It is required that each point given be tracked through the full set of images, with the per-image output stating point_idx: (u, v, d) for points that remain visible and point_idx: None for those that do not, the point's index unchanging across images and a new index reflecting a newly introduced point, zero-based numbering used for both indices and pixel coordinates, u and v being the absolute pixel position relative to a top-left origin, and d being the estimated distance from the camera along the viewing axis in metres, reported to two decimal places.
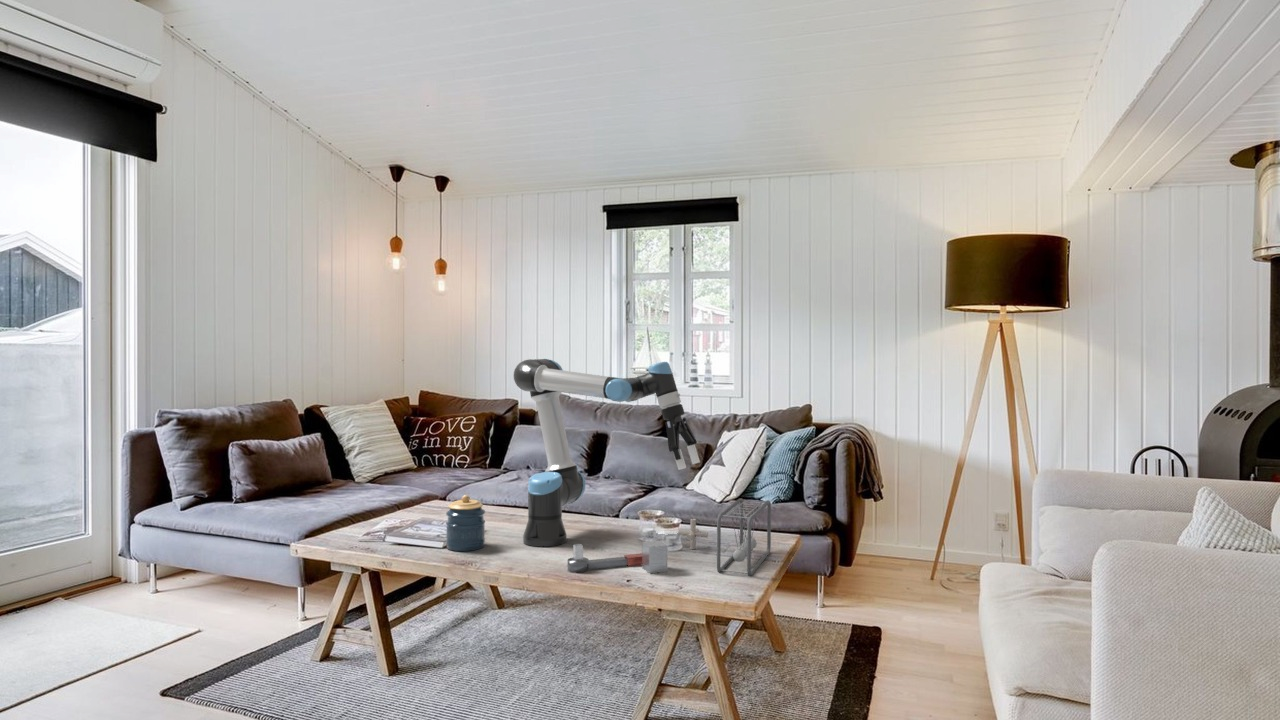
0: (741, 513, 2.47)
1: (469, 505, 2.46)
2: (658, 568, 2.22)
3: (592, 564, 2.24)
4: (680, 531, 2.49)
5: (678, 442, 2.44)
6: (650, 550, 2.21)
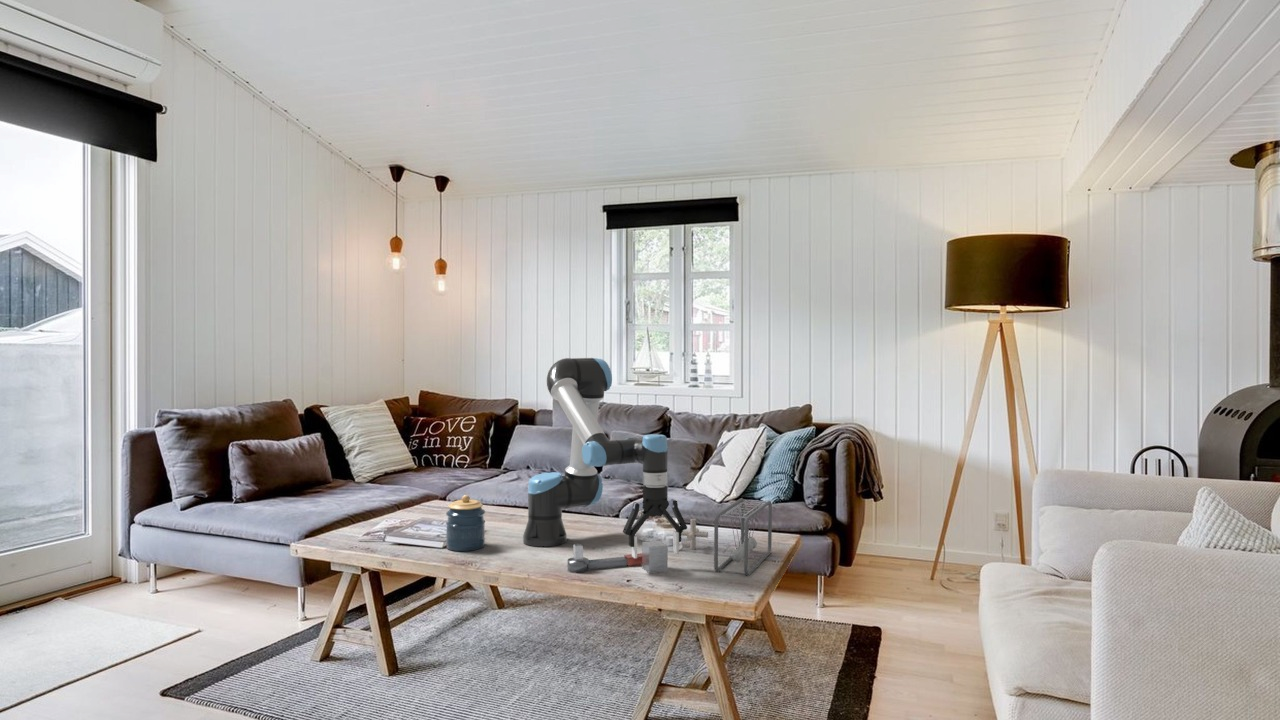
0: (742, 513, 2.48)
1: (469, 505, 2.46)
2: (658, 568, 2.22)
3: (592, 564, 2.24)
4: None
5: (637, 528, 2.21)
6: (650, 550, 2.21)
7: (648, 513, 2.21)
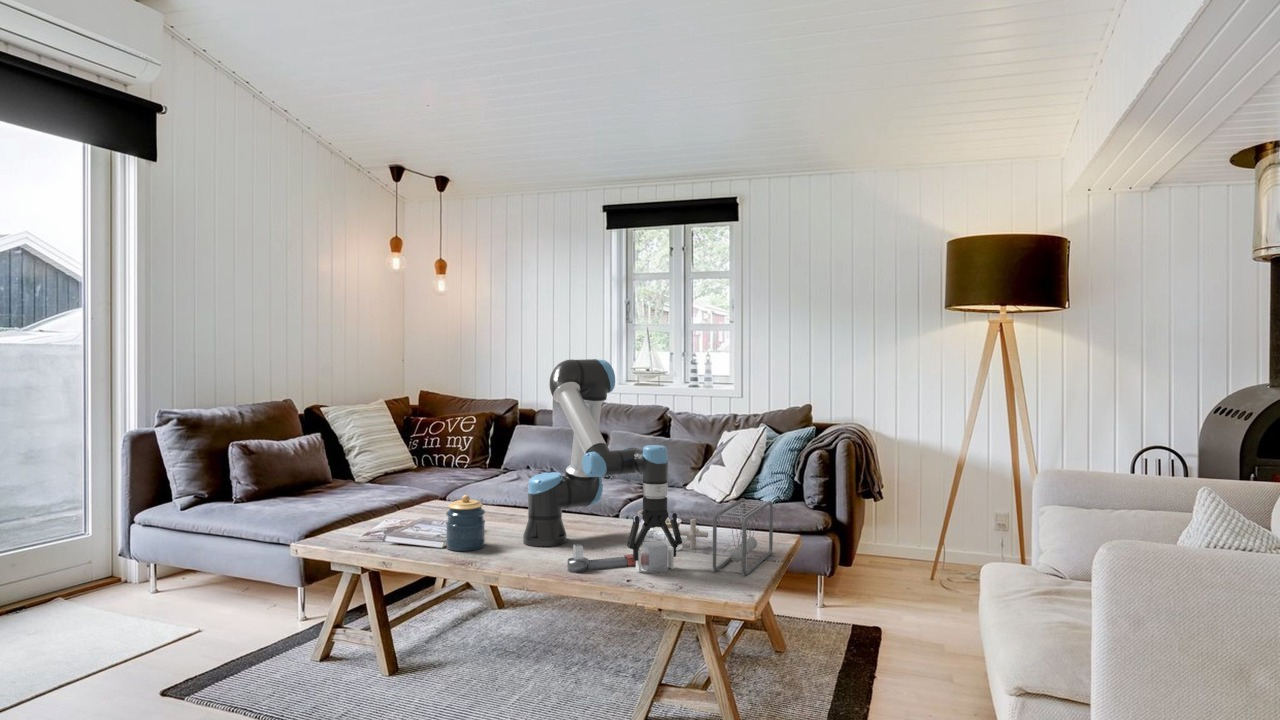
0: (743, 513, 2.48)
1: (469, 505, 2.46)
2: (658, 568, 2.22)
3: (592, 564, 2.24)
4: (680, 531, 2.49)
5: (640, 542, 2.21)
6: (650, 550, 2.21)
7: (649, 525, 2.22)
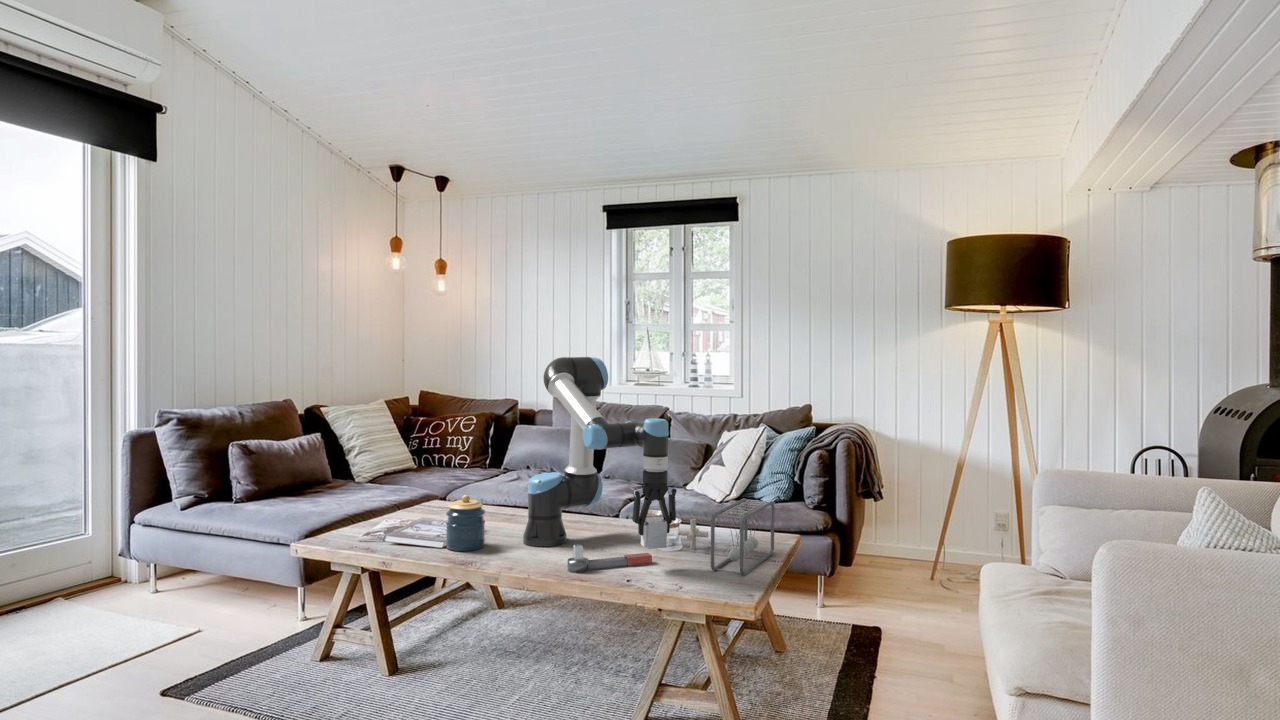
0: (745, 513, 2.47)
1: (469, 505, 2.46)
2: (657, 544, 2.22)
3: (592, 564, 2.24)
4: (680, 531, 2.49)
5: (645, 516, 2.22)
6: (649, 526, 2.21)
7: (650, 498, 2.22)
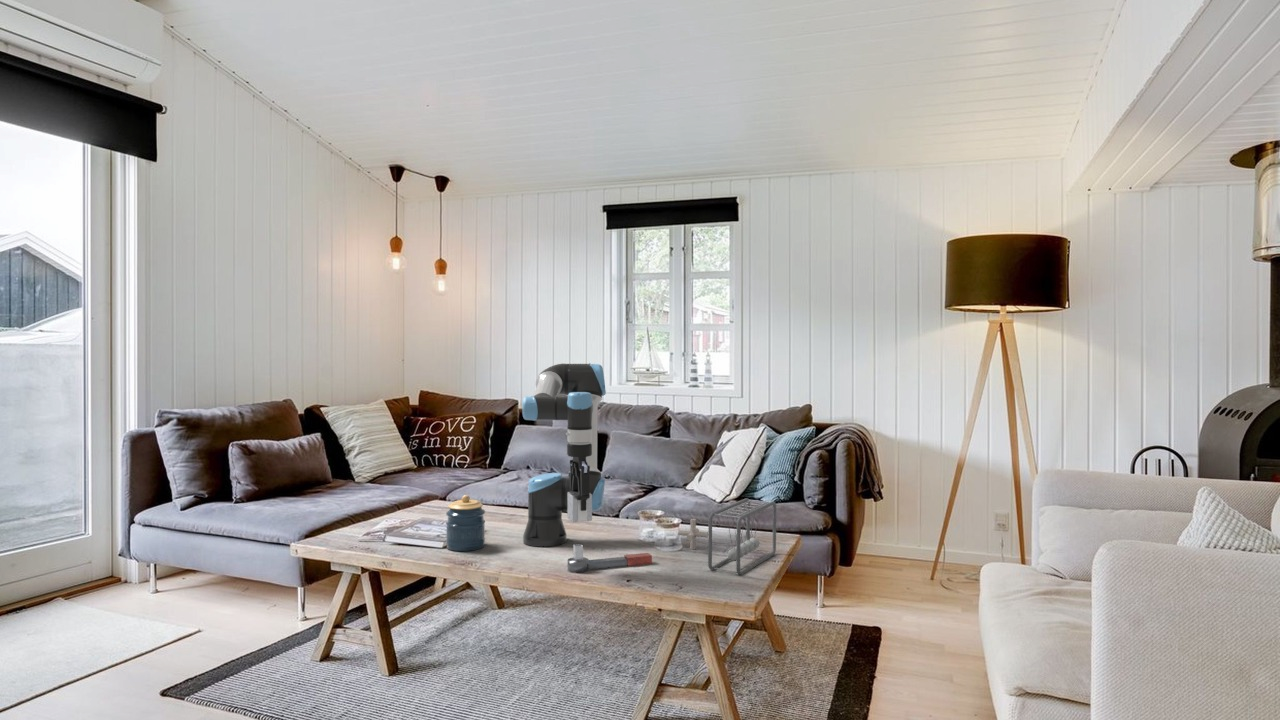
0: None
1: (469, 505, 2.46)
2: (570, 516, 2.23)
3: (592, 564, 2.24)
4: (680, 531, 2.49)
5: (572, 486, 2.27)
6: None
7: (572, 469, 2.25)
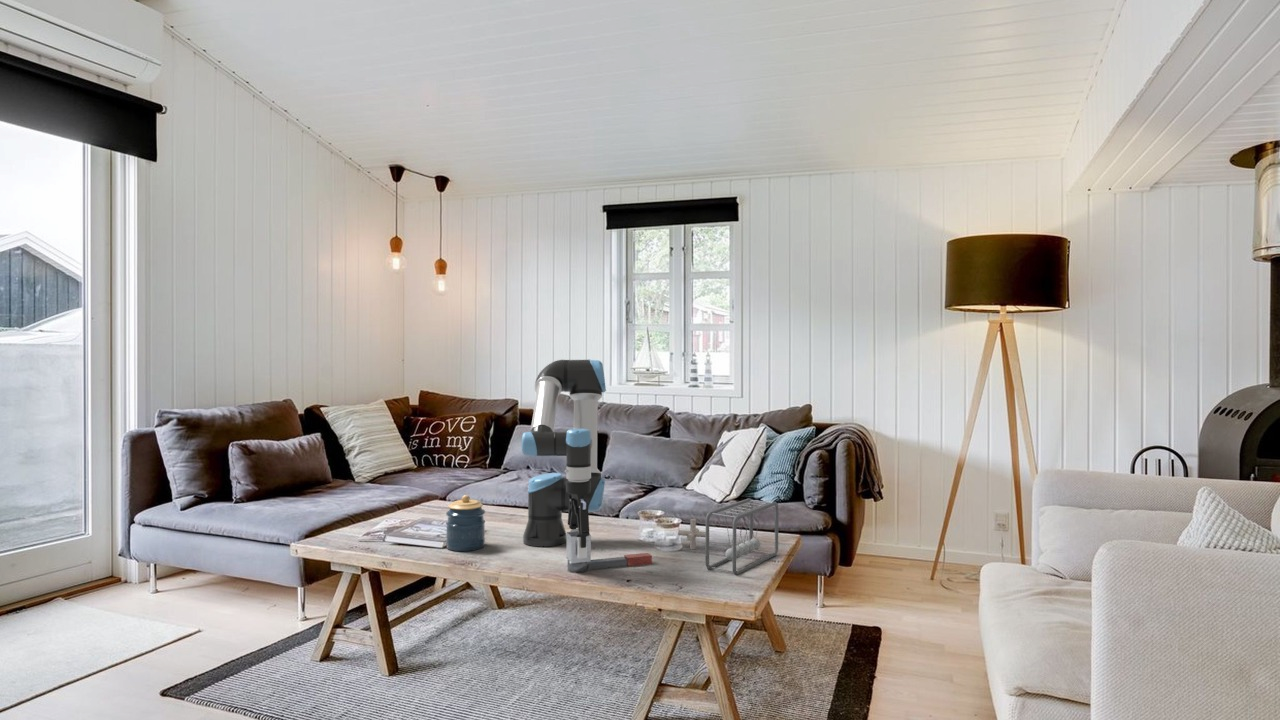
0: (750, 513, 2.47)
1: (469, 505, 2.46)
2: (569, 556, 2.23)
3: (592, 564, 2.24)
4: (680, 531, 2.49)
5: (570, 521, 2.28)
6: None
7: (570, 506, 2.26)
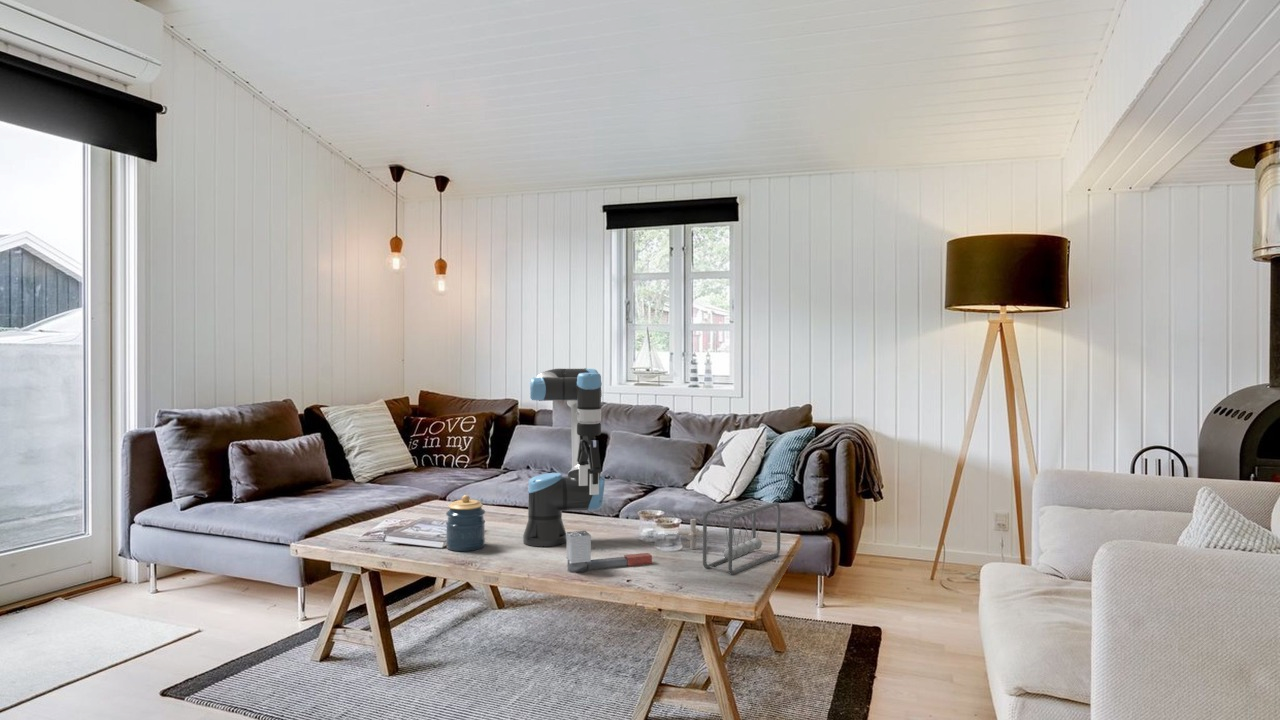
0: (753, 513, 2.47)
1: (469, 505, 2.46)
2: (569, 556, 2.23)
3: (592, 564, 2.24)
4: (680, 531, 2.49)
5: (580, 459, 2.35)
6: None
7: (581, 446, 2.31)
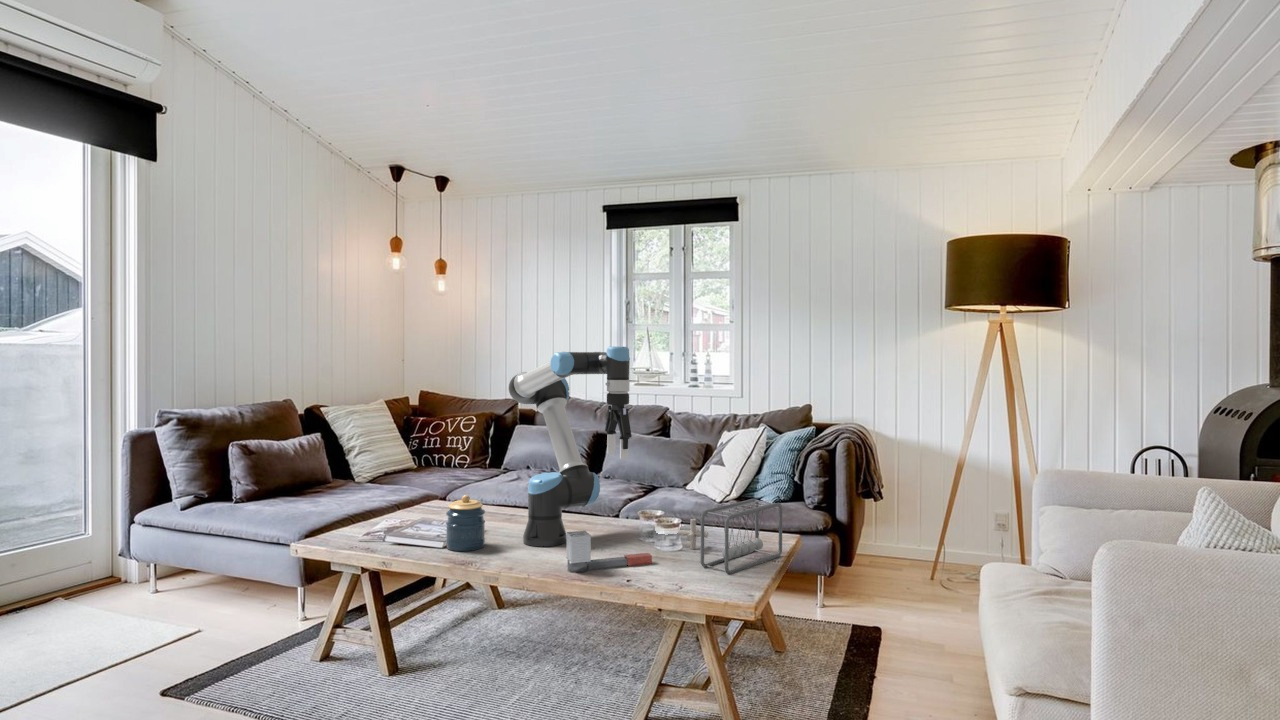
0: (756, 514, 2.47)
1: (469, 505, 2.46)
2: (569, 556, 2.23)
3: (592, 564, 2.24)
4: (680, 531, 2.49)
5: (608, 428, 2.50)
6: None
7: (610, 415, 2.47)
